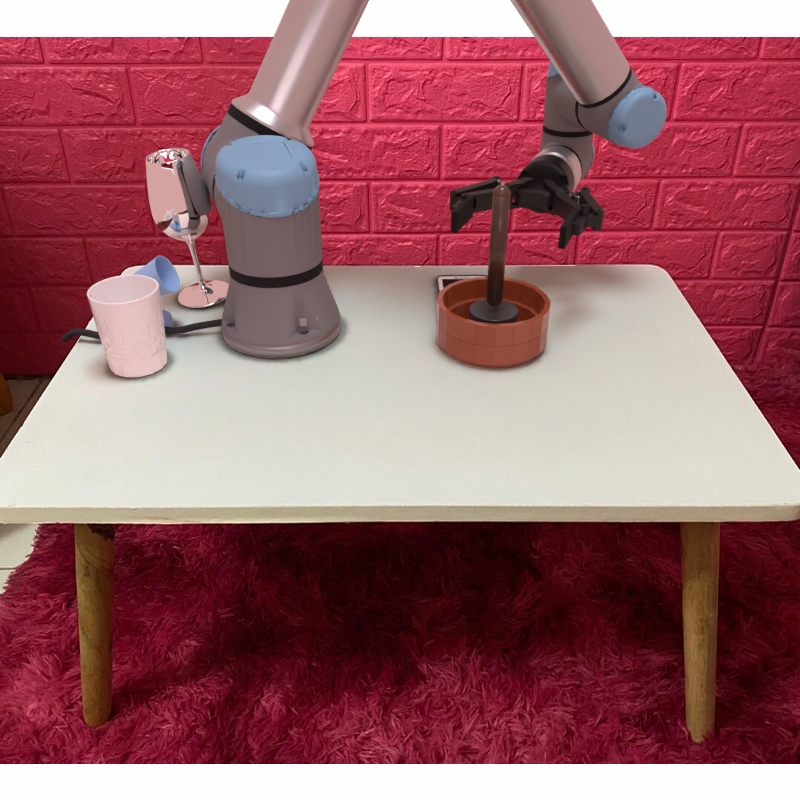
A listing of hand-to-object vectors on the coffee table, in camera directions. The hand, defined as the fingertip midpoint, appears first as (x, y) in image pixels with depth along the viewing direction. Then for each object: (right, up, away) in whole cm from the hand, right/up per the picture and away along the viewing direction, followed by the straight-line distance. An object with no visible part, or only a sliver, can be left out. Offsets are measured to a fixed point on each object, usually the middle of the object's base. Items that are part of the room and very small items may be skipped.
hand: (506, 230), depth 93 cm
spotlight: (-45, -11, +8) cm, 47 cm away
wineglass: (-40, -6, +16) cm, 44 cm away
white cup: (-45, -16, 0) cm, 47 cm away
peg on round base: (-1, -13, +4) cm, 13 cm away
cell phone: (-4, -7, +15) cm, 17 cm away
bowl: (-1, -13, +5) cm, 14 cm away
